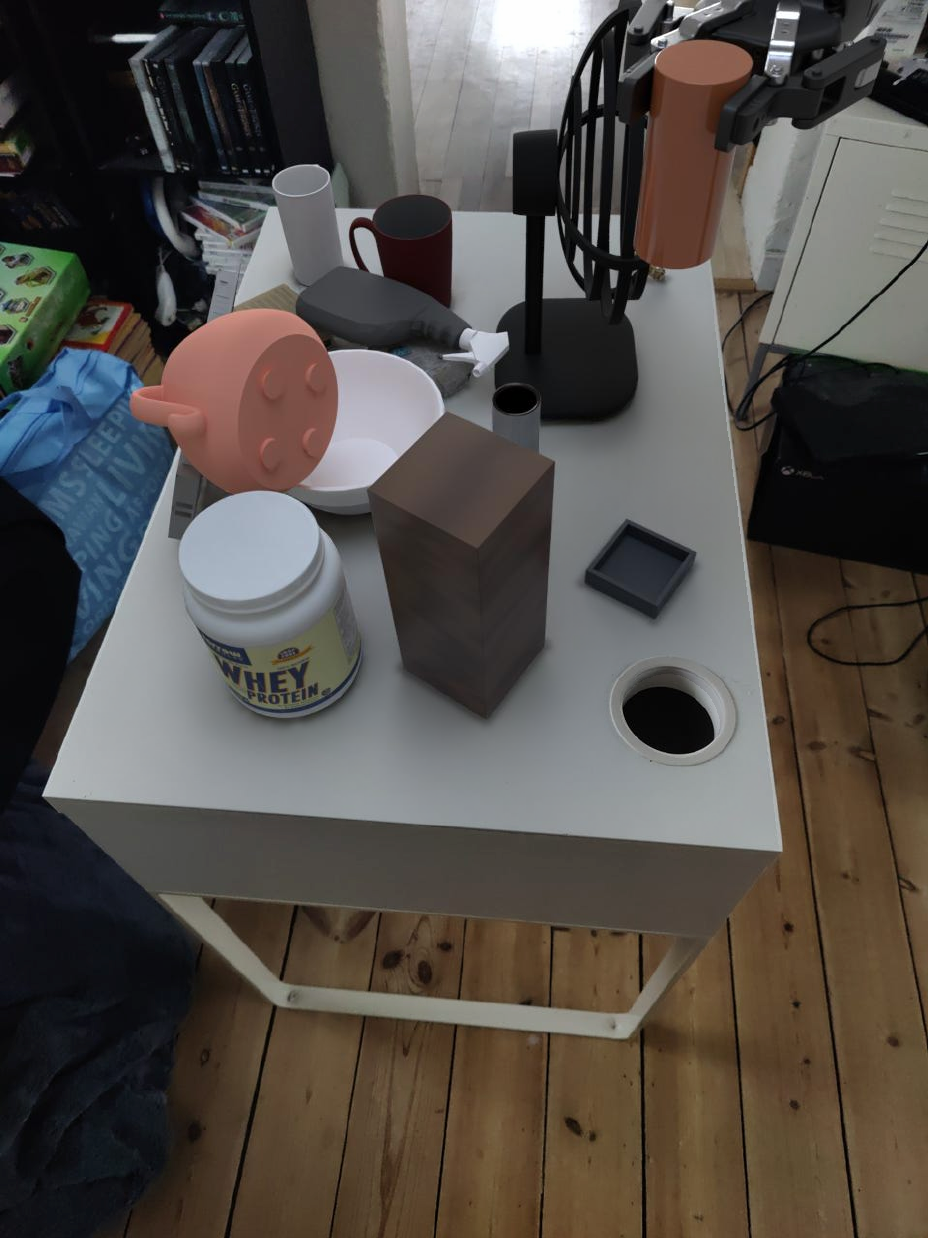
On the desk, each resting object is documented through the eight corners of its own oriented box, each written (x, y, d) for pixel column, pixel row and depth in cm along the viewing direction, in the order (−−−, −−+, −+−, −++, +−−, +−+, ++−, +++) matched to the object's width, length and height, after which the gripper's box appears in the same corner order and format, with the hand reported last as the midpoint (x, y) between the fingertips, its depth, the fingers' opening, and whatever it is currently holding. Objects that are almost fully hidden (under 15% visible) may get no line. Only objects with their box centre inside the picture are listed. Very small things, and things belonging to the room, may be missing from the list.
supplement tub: (215, 723, 73) (145, 611, 59) (241, 606, 80) (184, 480, 66) (357, 725, 72) (320, 611, 58) (371, 606, 79) (341, 479, 65)
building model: (221, 383, 98) (203, 379, 97) (242, 252, 84) (221, 246, 83) (187, 559, 84) (165, 555, 83) (206, 437, 70) (180, 431, 70)
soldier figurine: (644, 257, 101) (672, 275, 103) (643, 250, 102) (670, 268, 104) (632, 270, 103) (660, 288, 105) (631, 264, 104) (658, 281, 106)
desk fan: (662, 450, 89) (734, 86, 60) (492, 450, 90) (482, 94, 61) (642, 289, 104) (693, -64, 75) (497, 291, 105) (491, -56, 76)
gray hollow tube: (487, 466, 89) (485, 389, 80) (528, 455, 89) (530, 377, 81) (502, 497, 86) (501, 420, 78) (544, 485, 87) (548, 408, 78)
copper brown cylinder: (729, 237, 51) (769, 51, 43) (691, 279, 49) (726, 92, 41) (657, 214, 53) (682, 31, 45) (618, 253, 51) (637, 70, 43)
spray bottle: (346, 282, 102) (526, 342, 94) (288, 325, 96) (474, 394, 88) (343, 258, 100) (527, 318, 92) (283, 301, 94) (474, 369, 86)
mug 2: (352, 322, 103) (336, 236, 94) (367, 277, 108) (354, 191, 98) (451, 327, 101) (444, 241, 92) (462, 282, 106) (457, 195, 97)
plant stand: (544, 644, 76) (555, 460, 57) (486, 719, 72) (477, 548, 53) (463, 598, 79) (447, 410, 60) (403, 668, 76) (366, 489, 57)
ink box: (292, 307, 105) (232, 337, 103) (284, 279, 102) (222, 309, 100) (336, 347, 100) (274, 379, 98) (330, 319, 97) (266, 352, 95)
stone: (442, 310, 98) (487, 358, 93) (442, 344, 101) (485, 392, 96) (319, 350, 93) (359, 403, 88) (324, 384, 97) (363, 437, 92)
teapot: (371, 478, 83) (271, 448, 88) (385, 310, 77) (276, 288, 81) (207, 534, 65) (93, 493, 70) (206, 321, 59) (80, 291, 64)
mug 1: (338, 291, 107) (320, 197, 97) (287, 287, 108) (264, 194, 98) (358, 244, 112) (343, 151, 102) (309, 240, 113) (290, 148, 103)
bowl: (421, 393, 95) (414, 331, 88) (473, 520, 84) (469, 460, 78) (248, 435, 93) (227, 374, 86) (279, 570, 82) (258, 513, 75)
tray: (693, 565, 80) (697, 551, 79) (654, 619, 77) (657, 606, 76) (624, 531, 83) (626, 518, 81) (584, 582, 80) (585, 569, 78)
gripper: (712, -111, 50) (554, 2, 42) (965, -68, 44) (835, 69, 37) (690, 35, 56) (549, 155, 49) (910, 87, 51) (789, 230, 43)
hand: (674, 117), depth 43 cm, fingers closed on copper brown cylinder, 5 cm apart
